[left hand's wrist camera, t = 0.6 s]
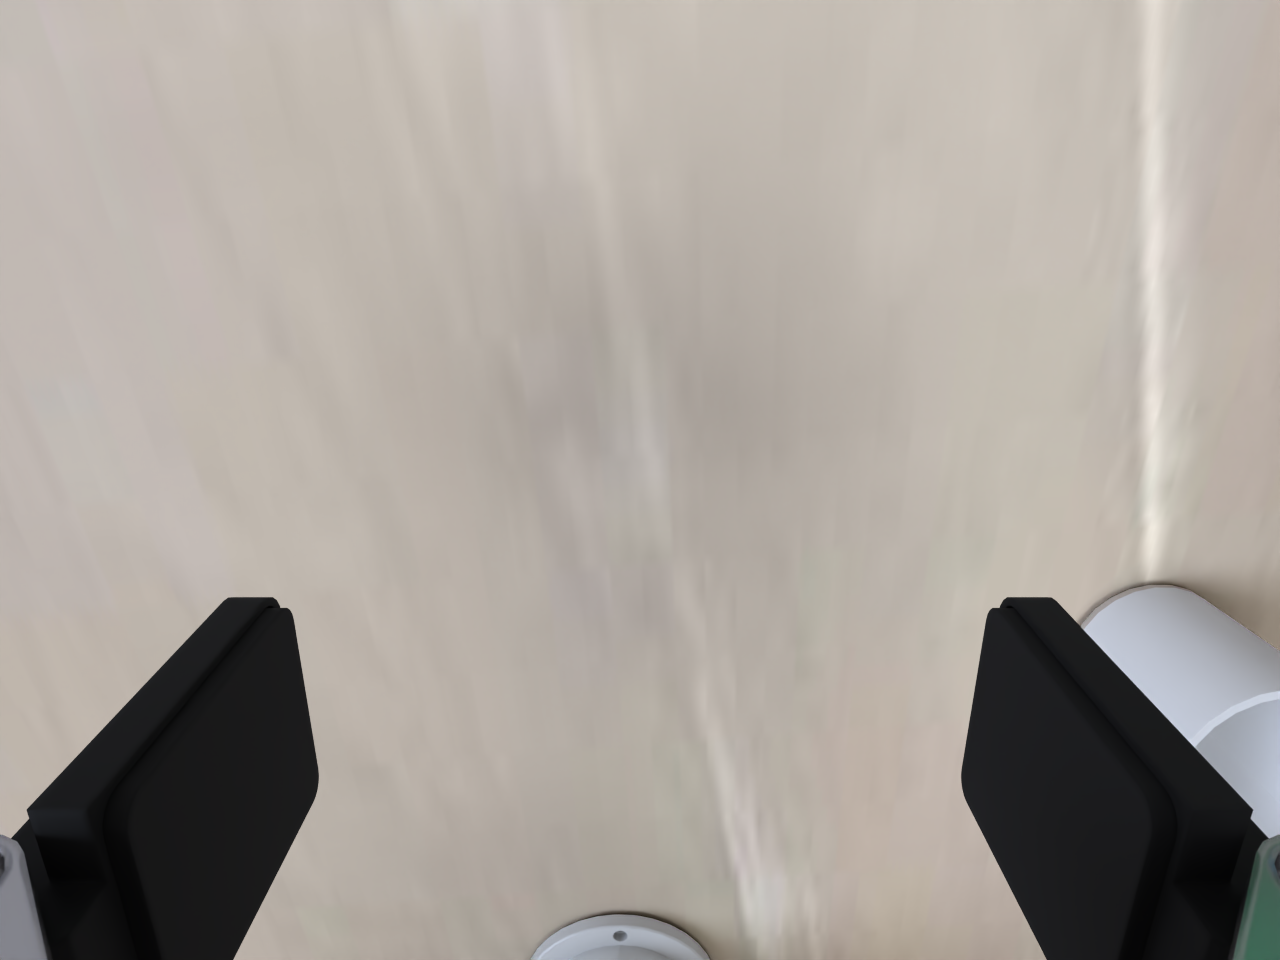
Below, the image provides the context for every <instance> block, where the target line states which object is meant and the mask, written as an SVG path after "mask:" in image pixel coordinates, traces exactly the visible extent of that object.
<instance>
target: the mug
mask: <svg viewBox="0 0 1280 960" xmlns="http://www.w3.org/2000/svg"><path fill="white" fill-rule="evenodd" d="M1081 628H1082V629H1083V630H1084V631H1085V632H1086V633H1087V634H1088V635H1089V636H1090V637H1091V638H1092V639H1093V640H1094V641H1095V643H1096V644H1097V645H1098V646H1099V647H1100V648H1101V649H1102V650H1103V651H1104V652H1105V653H1106V654H1107V655H1108V656H1109V657H1110V658H1111V660H1112V661H1113V662H1114V663H1115V664H1116V665H1117V666H1118V667H1119V668H1120V669H1121V670H1122V671H1123V672H1124V673H1125V674H1126V675H1127V676H1128V678H1129V679H1130V680H1131V681H1132V682H1133V683H1134V684H1135V685H1136V686H1137V687H1138V688H1139V689H1140V690H1141V691H1142V692H1143V693H1144V694H1145V696H1146V697H1147V698H1148V699H1149V700H1150V701H1151V702H1152V703H1153V704H1154V705H1155V706H1156V707H1157V708H1158V709H1159V710H1160V711H1161V712H1162V714H1163V715H1164V716H1165V717H1166V718H1167V719H1168V720H1169V721H1170V722H1171V723H1172V724H1173V725H1174V726H1175V727H1176V728H1177V729H1178V730H1179V732H1180V733H1181V734H1182V735H1183V736H1184V737H1185V738H1186V739H1187V740H1188V741H1189V742H1190V743H1191V744H1192V745H1193V746H1194V747H1195V748H1196V750H1197V751H1198V752H1199V753H1200V754H1201V755H1202V756H1203V757H1204V758H1205V759H1206V760H1207V761H1208V762H1209V763H1210V764H1211V765H1212V766H1213V768H1214V769H1215V770H1216V771H1217V772H1218V773H1219V774H1220V775H1221V776H1222V777H1223V778H1224V779H1225V780H1226V781H1227V782H1228V783H1229V784H1230V786H1231V787H1232V788H1233V789H1234V790H1235V791H1236V792H1237V793H1238V794H1239V795H1240V796H1241V797H1242V798H1243V799H1244V800H1245V801H1246V802H1247V804H1248V805H1249V806H1250V807H1251V808H1252V809H1253V813H1252V816H1251V820H1252V821H1253V822H1254V823H1255V824H1256V825H1257V826H1258V827H1259V828H1260V829H1261V830H1262V832H1263V833H1264V834H1265V835H1266V836H1267V837H1268V838H1272V837H1274V836H1276V835H1280V651H1279V650H1278V649H1276V648H1275V647H1273V646H1272V645H1270V644H1269V643H1267V642H1266V641H1265V640H1263V639H1262V638H1260V637H1259V636H1257V635H1256V634H1254V633H1253V632H1251V631H1250V630H1249V629H1247V628H1246V627H1244V626H1243V625H1241V624H1240V623H1238V622H1237V621H1235V620H1234V619H1233V618H1231V617H1230V616H1228V615H1227V614H1225V613H1224V612H1222V611H1221V610H1219V609H1218V608H1217V607H1215V606H1214V605H1212V604H1211V603H1209V602H1208V601H1206V600H1205V599H1204V598H1202V597H1200V596H1199V595H1197V594H1195V593H1194V592H1192V591H1191V590H1188V589H1184V588H1181V587H1177V586H1173V585H1146V586H1142V587H1137V588H1132V589H1129V590H1126V591H1124V592H1122V593H1120V594H1117V595H1115V596H1113V597H1111V598H1109V599H1108V600H1107V601H1105V602H1104V603H1103V604H1101V605H1100V606H1098V607H1097V608H1096V609H1095V610H1094V611H1093V612H1092V613H1091V614H1090V615H1089V616H1088V617H1087V619H1086V620H1085V621H1084V622H1083V623H1082V625H1081Z"/></svg>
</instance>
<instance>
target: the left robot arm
mask: <svg viewBox="0 0 1280 960" xmlns="http://www.w3.org/2000/svg"><path fill="white" fill-rule="evenodd" d="M318 781H319V772H318V765H317V759H316V753H315V747H314V740H313V734H312V728H311V722H310V716H309V710H308V704H307V698H306V692H305V686H304V679H303V673H302V667H301V661H300V655H299V649H298V643H297V637H296V631H295V625H294V619H293V615H292V613H291V611H290V610H289V609H288V608H280V605H279V604H278V602H277V600H276V599H274V598H273V597H231V598H227V599H226V600H224V601H223V602H222V603H221V604H220V605H219V607H218V608H217V609H216V610H215V611H214V612H213V613H212V614H211V615H210V616H209V617H208V618H207V619H206V620H205V621H204V622H203V623H202V625H201V626H200V627H199V628H198V629H197V630H196V631H195V632H194V633H193V634H192V635H191V636H190V637H189V638H188V639H187V640H186V641H185V643H184V644H183V645H182V646H181V647H180V648H179V649H178V650H177V651H176V652H175V653H174V654H173V655H172V656H171V657H170V658H169V660H168V661H167V662H166V663H165V664H164V665H163V666H162V667H161V668H160V669H159V670H158V671H157V672H156V673H155V674H154V675H153V676H152V678H151V679H150V680H149V681H148V682H147V683H146V684H145V685H144V686H143V687H142V688H141V689H140V690H139V691H138V692H137V693H136V694H135V696H134V697H133V698H132V699H131V700H130V701H129V702H128V703H127V704H126V705H125V706H124V707H123V708H122V709H121V710H120V711H119V712H118V714H117V715H116V716H115V717H114V718H113V719H112V720H111V721H110V722H109V723H108V724H107V725H106V726H105V727H104V728H103V729H102V730H101V732H100V733H99V734H98V735H97V736H96V737H95V738H94V739H93V740H92V741H91V742H90V743H89V744H88V745H87V746H86V747H85V748H84V750H83V751H82V752H81V753H80V754H79V755H78V756H77V757H76V758H75V759H74V760H73V761H72V762H71V763H70V764H69V765H68V766H67V768H66V769H65V770H64V771H63V772H62V773H61V774H60V775H59V776H58V777H57V778H56V779H55V780H54V781H53V782H52V783H51V784H50V786H49V787H48V788H47V789H46V790H45V791H44V792H43V793H42V794H41V795H40V796H39V797H38V798H37V799H36V800H35V801H34V802H33V804H32V805H31V806H30V807H29V808H28V809H27V813H28V816H29V820H28V821H27V822H26V823H25V824H24V825H23V826H22V827H21V828H20V829H19V830H18V832H17V833H16V834H15V835H14V836H13V837H12V838H8V837H6V836H4V835H0V960H233V959H234V957H235V955H236V953H237V951H238V949H239V947H240V945H241V943H242V941H243V939H244V937H245V935H246V933H247V931H248V929H249V927H250V925H251V924H252V922H253V920H254V918H255V916H256V914H257V912H258V910H259V908H260V906H261V904H262V902H263V900H264V898H265V896H266V894H267V892H268V890H269V888H270V886H271V884H272V882H273V880H274V878H275V876H276V874H277V872H278V870H279V869H280V867H281V865H282V863H283V861H284V859H285V857H286V855H287V853H288V851H289V849H290V847H291V845H292V843H293V841H294V839H295V837H296V835H297V833H298V831H299V829H300V827H301V825H302V823H303V821H304V819H305V817H306V815H307V813H308V812H309V810H310V808H311V806H312V804H313V802H314V799H315V797H316V793H317V789H318ZM961 781H962V789H963V793H964V797H965V799H966V802H967V804H968V806H969V808H970V810H971V812H972V813H973V815H974V817H975V819H976V821H977V823H978V825H979V827H980V829H981V831H982V833H983V835H984V837H985V839H986V841H987V843H988V845H989V847H990V849H991V851H992V853H993V855H994V857H995V859H996V861H997V863H998V865H999V867H1000V869H1001V870H1002V872H1003V874H1004V876H1005V878H1006V880H1007V882H1008V884H1009V886H1010V888H1011V890H1012V892H1013V894H1014V896H1015V898H1016V900H1017V902H1018V904H1019V906H1020V908H1021V910H1022V912H1023V914H1024V916H1025V918H1026V920H1027V922H1028V924H1029V925H1030V927H1031V929H1032V931H1033V933H1034V935H1035V937H1036V939H1037V941H1038V943H1039V945H1040V947H1041V949H1042V951H1043V953H1044V955H1045V957H1046V959H1047V960H1280V835H1276V836H1274V837H1272V838H1268V837H1267V836H1266V835H1265V834H1264V833H1263V832H1262V830H1261V829H1260V828H1259V827H1258V826H1257V825H1256V824H1255V823H1254V822H1253V821H1252V820H1251V816H1252V813H1253V809H1252V808H1251V807H1250V806H1249V805H1248V804H1247V802H1246V801H1245V800H1244V799H1243V798H1242V797H1241V796H1240V795H1239V794H1238V793H1237V792H1236V791H1235V790H1234V789H1233V788H1232V787H1231V786H1230V784H1229V783H1228V782H1227V781H1226V780H1225V779H1224V778H1223V777H1222V776H1221V775H1220V774H1219V773H1218V772H1217V771H1216V770H1215V769H1214V768H1213V766H1212V765H1211V764H1210V763H1209V762H1208V761H1207V760H1206V759H1205V758H1204V757H1203V756H1202V755H1201V754H1200V753H1199V752H1198V751H1197V750H1196V748H1195V747H1194V746H1193V745H1192V744H1191V743H1190V742H1189V741H1188V740H1187V739H1186V738H1185V737H1184V736H1183V735H1182V734H1181V733H1180V732H1179V730H1178V729H1177V728H1176V727H1175V726H1174V725H1173V724H1172V723H1171V722H1170V721H1169V720H1168V719H1167V718H1166V717H1165V716H1164V715H1163V714H1162V712H1161V711H1160V710H1159V709H1158V708H1157V707H1156V706H1155V705H1154V704H1153V703H1152V702H1151V701H1150V700H1149V699H1148V698H1147V697H1146V696H1145V694H1144V693H1143V692H1142V691H1141V690H1140V689H1139V688H1138V687H1137V686H1136V685H1135V684H1134V683H1133V682H1132V681H1131V680H1130V679H1129V678H1128V676H1127V675H1126V674H1125V673H1124V672H1123V671H1122V670H1121V669H1120V668H1119V667H1118V666H1117V665H1116V664H1115V663H1114V662H1113V661H1112V660H1111V658H1110V657H1109V656H1108V655H1107V654H1106V653H1105V652H1104V651H1103V650H1102V649H1101V648H1100V647H1099V646H1098V645H1097V644H1096V643H1095V641H1094V640H1093V639H1092V638H1091V637H1090V636H1089V635H1088V634H1087V633H1086V632H1085V631H1084V630H1083V629H1082V628H1081V627H1080V626H1079V625H1078V623H1077V622H1076V621H1075V620H1074V619H1073V618H1072V617H1071V616H1070V615H1069V614H1068V613H1067V612H1066V611H1065V610H1064V609H1063V608H1062V607H1061V605H1060V604H1059V603H1058V602H1057V601H1056V600H1054V599H1053V598H1049V597H1007V598H1006V599H1004V600H1003V602H1002V604H1001V605H1000V608H992V609H991V610H990V611H989V613H988V615H987V619H986V625H985V631H984V637H983V643H982V649H981V655H980V661H979V667H978V673H977V679H976V686H975V692H974V698H973V704H972V710H971V716H970V722H969V728H968V734H967V740H966V747H965V753H964V759H963V765H962V772H961ZM530 960H710V958H709V956H708V955H707V953H706V952H705V951H704V950H703V948H702V947H701V946H700V945H699V944H698V943H697V942H696V941H695V940H694V939H692V938H691V937H690V936H689V935H688V934H686V933H685V932H683V931H681V930H679V929H677V928H676V927H674V926H672V925H670V924H667V923H664V922H661V921H659V920H656V919H653V918H648V917H642V916H637V915H622V914H614V915H604V916H596V917H592V918H588V919H584V920H581V921H578V922H575V923H573V924H571V925H568V926H566V927H564V928H562V929H560V930H559V931H557V932H556V933H554V934H553V935H551V936H550V937H549V938H547V939H546V940H545V941H544V942H543V943H542V944H541V945H540V946H539V947H538V948H537V950H536V952H535V953H534V955H533V956H532V958H531V959H530Z"/></svg>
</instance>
